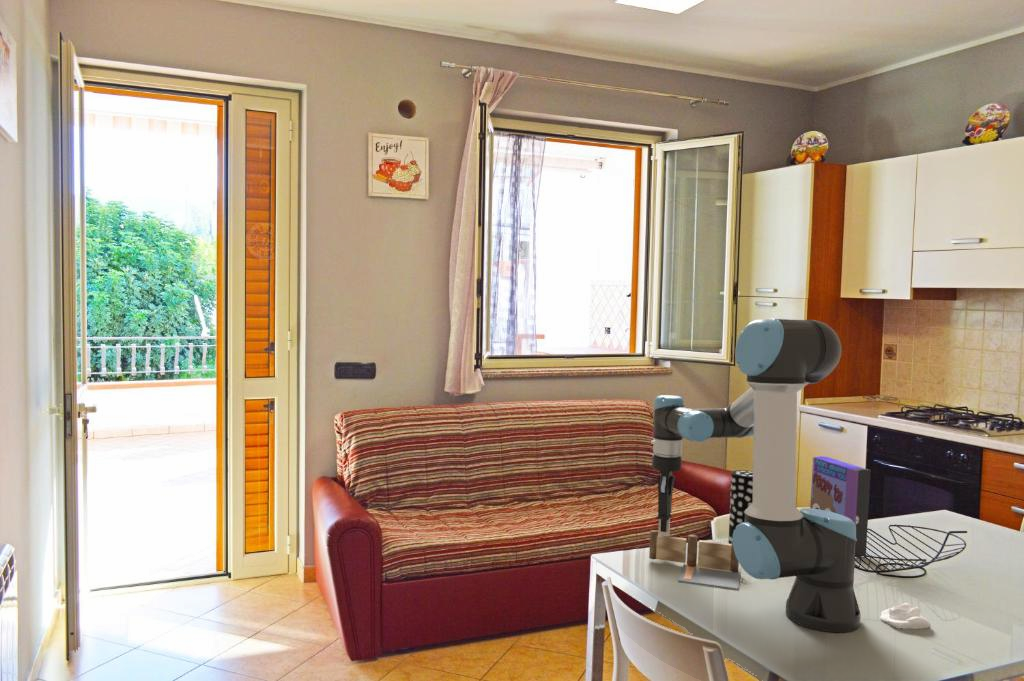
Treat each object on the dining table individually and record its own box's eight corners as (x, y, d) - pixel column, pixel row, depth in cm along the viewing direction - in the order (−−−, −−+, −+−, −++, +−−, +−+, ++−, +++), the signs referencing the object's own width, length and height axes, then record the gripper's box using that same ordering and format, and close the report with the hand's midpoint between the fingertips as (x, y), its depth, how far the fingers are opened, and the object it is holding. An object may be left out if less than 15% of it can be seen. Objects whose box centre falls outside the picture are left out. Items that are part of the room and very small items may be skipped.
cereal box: (808, 538, 229) (813, 456, 228) (822, 537, 231) (826, 456, 229) (851, 558, 213) (856, 470, 211) (865, 557, 214) (870, 469, 213)
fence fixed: (738, 571, 200) (739, 540, 199) (738, 574, 197) (739, 543, 197) (687, 564, 204) (688, 534, 203) (686, 567, 201) (687, 536, 201)
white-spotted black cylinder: (752, 550, 217) (756, 478, 215) (723, 544, 222) (727, 473, 220) (763, 543, 223) (767, 473, 222) (735, 537, 228) (738, 468, 227)
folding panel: (685, 561, 204) (686, 534, 203) (684, 563, 202) (686, 536, 201) (649, 556, 206) (650, 529, 206) (648, 558, 204) (649, 532, 204)
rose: (925, 617, 164) (875, 604, 170) (923, 638, 164) (874, 624, 170) (935, 603, 171) (887, 591, 178) (934, 623, 172) (886, 610, 178)
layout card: (740, 570, 200) (740, 568, 200) (738, 590, 187) (738, 588, 187) (684, 563, 205) (684, 561, 205) (678, 581, 191) (678, 579, 191)
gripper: (656, 448, 215) (653, 534, 217) (648, 457, 203) (645, 548, 204) (684, 451, 213) (680, 537, 214) (678, 460, 201) (674, 551, 202)
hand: (663, 542), depth 209 cm, fingers closed
